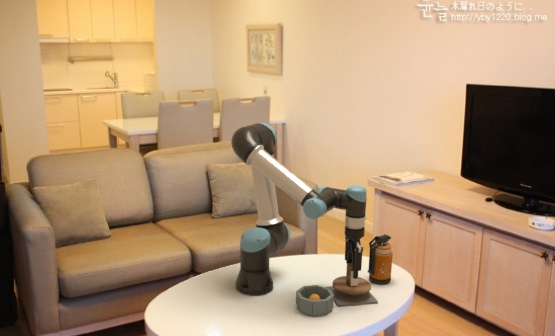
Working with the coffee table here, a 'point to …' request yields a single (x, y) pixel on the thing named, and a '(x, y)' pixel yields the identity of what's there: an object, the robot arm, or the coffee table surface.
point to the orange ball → (314, 297)
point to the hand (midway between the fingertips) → (351, 282)
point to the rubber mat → (352, 298)
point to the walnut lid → (344, 285)
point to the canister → (380, 260)
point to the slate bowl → (314, 306)
